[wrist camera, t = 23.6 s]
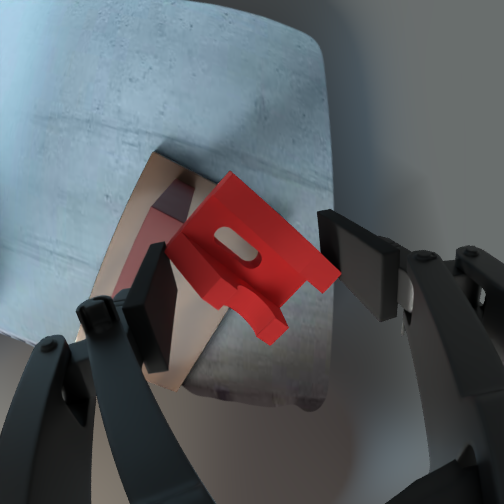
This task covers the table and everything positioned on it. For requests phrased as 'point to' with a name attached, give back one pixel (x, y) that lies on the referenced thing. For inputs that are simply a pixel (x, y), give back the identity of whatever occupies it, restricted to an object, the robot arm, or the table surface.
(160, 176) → the stand
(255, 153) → the table surface
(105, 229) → the table surface
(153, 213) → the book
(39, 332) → the table surface
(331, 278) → the bracket
